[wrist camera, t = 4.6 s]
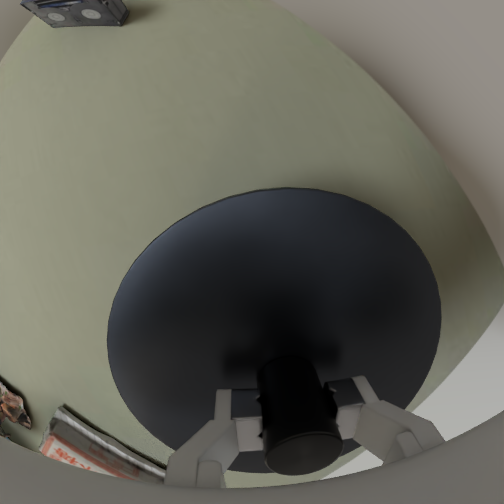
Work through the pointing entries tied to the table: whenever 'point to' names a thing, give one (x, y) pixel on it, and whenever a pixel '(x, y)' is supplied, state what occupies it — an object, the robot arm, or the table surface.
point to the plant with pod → (12, 409)
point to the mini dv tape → (78, 12)
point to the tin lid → (273, 320)
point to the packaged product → (94, 450)
